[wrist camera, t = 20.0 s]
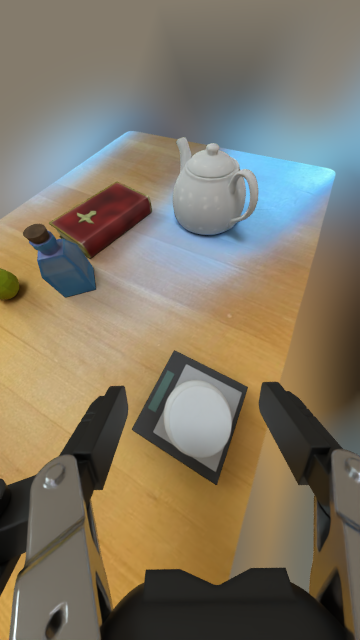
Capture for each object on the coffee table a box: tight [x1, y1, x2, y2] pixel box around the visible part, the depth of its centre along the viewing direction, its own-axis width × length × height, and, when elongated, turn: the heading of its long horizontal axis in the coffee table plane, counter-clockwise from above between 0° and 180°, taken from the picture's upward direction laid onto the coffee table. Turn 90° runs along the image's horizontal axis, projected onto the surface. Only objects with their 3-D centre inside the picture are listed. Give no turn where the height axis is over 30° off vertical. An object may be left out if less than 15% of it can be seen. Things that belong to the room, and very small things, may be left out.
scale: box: [132, 350, 248, 485], centre depth 24 cm, size 12×12×3 cm
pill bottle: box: [164, 380, 232, 458], centre depth 17 cm, size 6×6×11 cm
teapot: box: [173, 137, 258, 235], centre depth 38 cm, size 19×18×14 cm
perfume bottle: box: [23, 224, 96, 297], centre depth 30 cm, size 6×6×12 cm
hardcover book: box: [49, 182, 152, 259], centre depth 41 cm, size 12×21×4 cm, turn 142°
